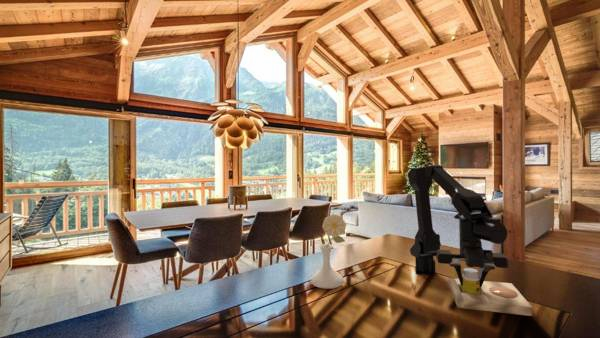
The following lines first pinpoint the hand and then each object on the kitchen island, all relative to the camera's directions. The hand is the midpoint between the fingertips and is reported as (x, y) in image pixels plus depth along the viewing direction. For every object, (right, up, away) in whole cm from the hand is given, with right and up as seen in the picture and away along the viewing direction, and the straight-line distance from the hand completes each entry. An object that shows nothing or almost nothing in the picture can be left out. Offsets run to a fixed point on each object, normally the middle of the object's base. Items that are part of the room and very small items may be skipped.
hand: (470, 285), depth 93 cm
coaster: (+8, -1, -3) cm, 9 cm away
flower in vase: (-42, -5, +12) cm, 44 cm away
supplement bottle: (0, -4, 0) cm, 4 cm away
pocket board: (+4, -4, -1) cm, 5 cm away
